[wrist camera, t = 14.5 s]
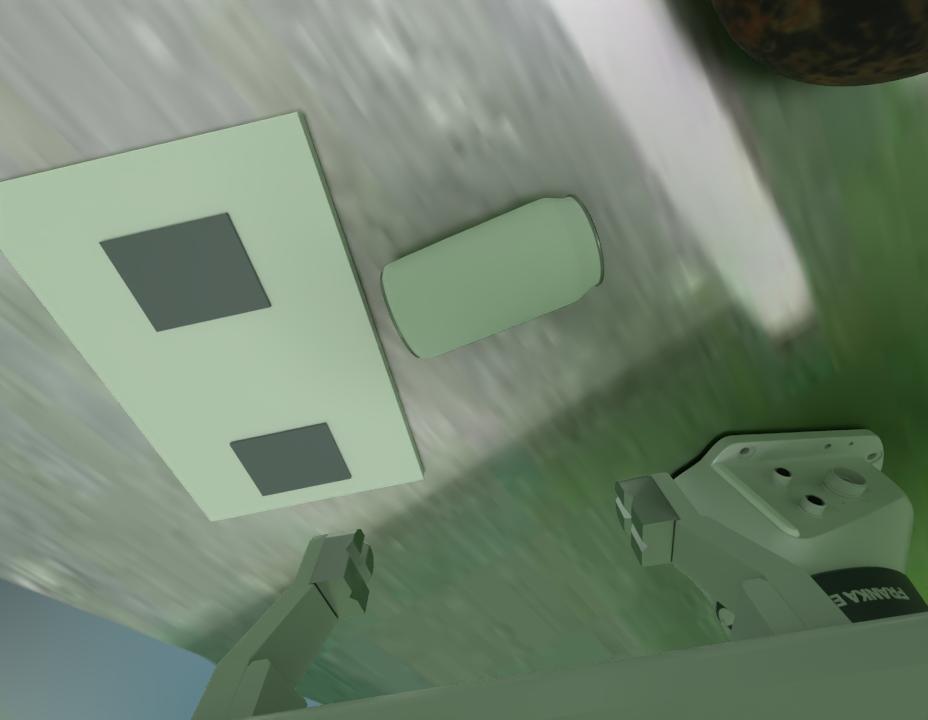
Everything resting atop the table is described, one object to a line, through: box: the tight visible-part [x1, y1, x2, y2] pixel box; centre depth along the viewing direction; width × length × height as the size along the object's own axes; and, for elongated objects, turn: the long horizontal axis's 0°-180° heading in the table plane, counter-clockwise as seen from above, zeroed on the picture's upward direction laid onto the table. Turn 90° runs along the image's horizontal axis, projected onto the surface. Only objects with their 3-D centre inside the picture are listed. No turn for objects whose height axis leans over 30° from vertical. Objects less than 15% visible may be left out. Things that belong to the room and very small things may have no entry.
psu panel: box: [0, 112, 424, 522], centre depth 27 cm, size 20×28×1 cm
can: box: [380, 194, 604, 360], centre depth 23 cm, size 6×6×12 cm
